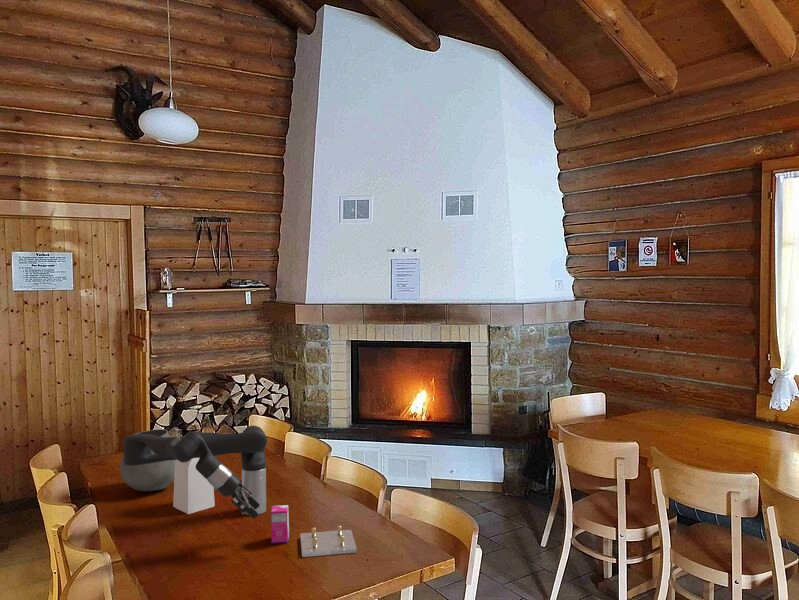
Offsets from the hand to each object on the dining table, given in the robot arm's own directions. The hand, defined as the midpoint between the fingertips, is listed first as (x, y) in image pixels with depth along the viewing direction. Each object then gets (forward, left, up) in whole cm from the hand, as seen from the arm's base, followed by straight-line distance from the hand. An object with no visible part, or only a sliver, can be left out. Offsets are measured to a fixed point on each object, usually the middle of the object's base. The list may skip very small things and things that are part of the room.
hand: (257, 511), depth 214 cm
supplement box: (+8, +1, -11) cm, 14 cm away
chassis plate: (+24, -6, -11) cm, 27 cm away
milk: (-26, +41, -11) cm, 50 cm away
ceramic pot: (-47, +66, -11) cm, 82 cm away
